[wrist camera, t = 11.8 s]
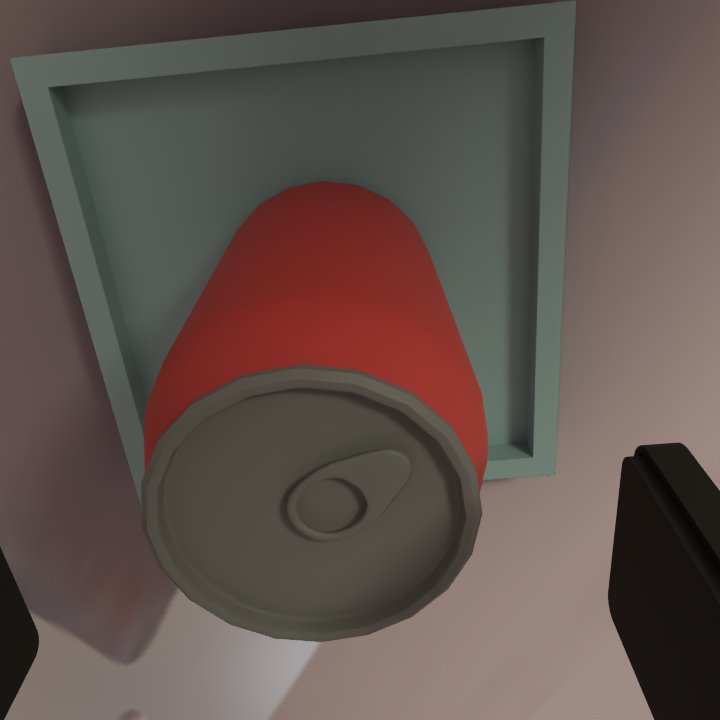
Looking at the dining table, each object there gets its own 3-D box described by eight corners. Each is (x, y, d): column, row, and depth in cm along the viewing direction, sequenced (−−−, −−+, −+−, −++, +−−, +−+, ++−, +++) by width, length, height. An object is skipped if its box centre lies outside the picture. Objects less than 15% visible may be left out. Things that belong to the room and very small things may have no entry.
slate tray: (557, 3, 19) (576, 0, 17) (542, 446, 26) (555, 474, 24) (38, 56, 19) (9, 58, 18) (154, 478, 26) (141, 508, 24)
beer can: (470, 295, 22) (589, 548, 11) (315, 404, 24) (289, 714, 13) (346, 129, 20) (344, 247, 9) (184, 263, 21) (16, 499, 11)
